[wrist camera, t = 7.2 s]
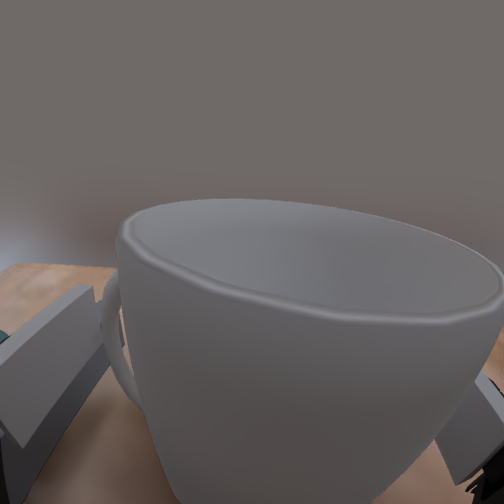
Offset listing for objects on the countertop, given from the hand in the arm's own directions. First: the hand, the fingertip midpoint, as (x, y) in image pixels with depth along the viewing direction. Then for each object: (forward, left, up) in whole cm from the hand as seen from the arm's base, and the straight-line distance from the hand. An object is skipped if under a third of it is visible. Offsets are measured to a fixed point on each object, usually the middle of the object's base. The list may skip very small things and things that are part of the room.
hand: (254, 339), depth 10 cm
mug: (+2, +1, -7) cm, 7 cm away
